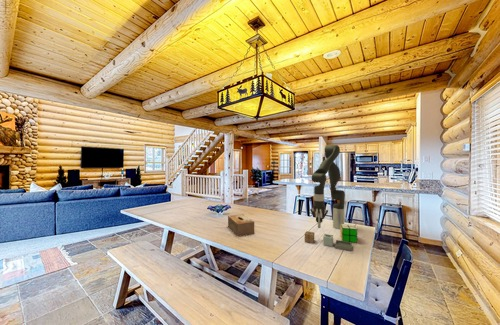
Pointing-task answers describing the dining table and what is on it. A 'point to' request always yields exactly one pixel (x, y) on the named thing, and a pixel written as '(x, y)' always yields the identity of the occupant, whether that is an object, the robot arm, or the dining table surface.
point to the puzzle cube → (348, 233)
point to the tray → (343, 245)
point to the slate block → (328, 240)
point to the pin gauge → (319, 221)
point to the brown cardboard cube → (309, 237)
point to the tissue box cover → (241, 224)
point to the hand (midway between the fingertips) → (319, 222)
